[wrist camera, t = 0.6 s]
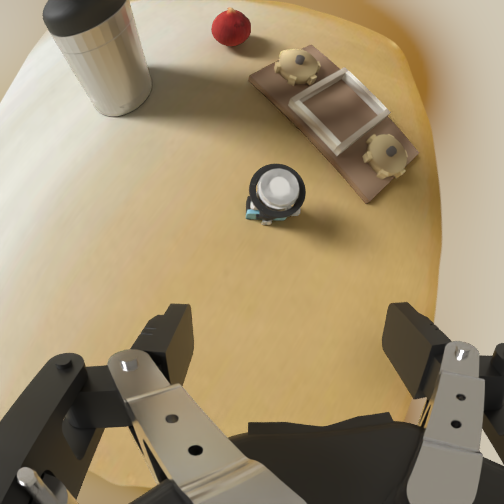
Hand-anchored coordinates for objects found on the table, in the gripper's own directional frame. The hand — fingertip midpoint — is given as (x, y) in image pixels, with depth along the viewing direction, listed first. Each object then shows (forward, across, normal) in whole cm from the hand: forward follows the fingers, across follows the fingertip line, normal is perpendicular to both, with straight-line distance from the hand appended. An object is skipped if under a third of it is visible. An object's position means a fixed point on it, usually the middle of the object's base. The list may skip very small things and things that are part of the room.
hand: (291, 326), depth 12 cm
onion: (+37, +6, -27) cm, 46 cm away
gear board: (+34, -10, -14) cm, 38 cm away
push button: (+27, 0, -1) cm, 27 cm away
